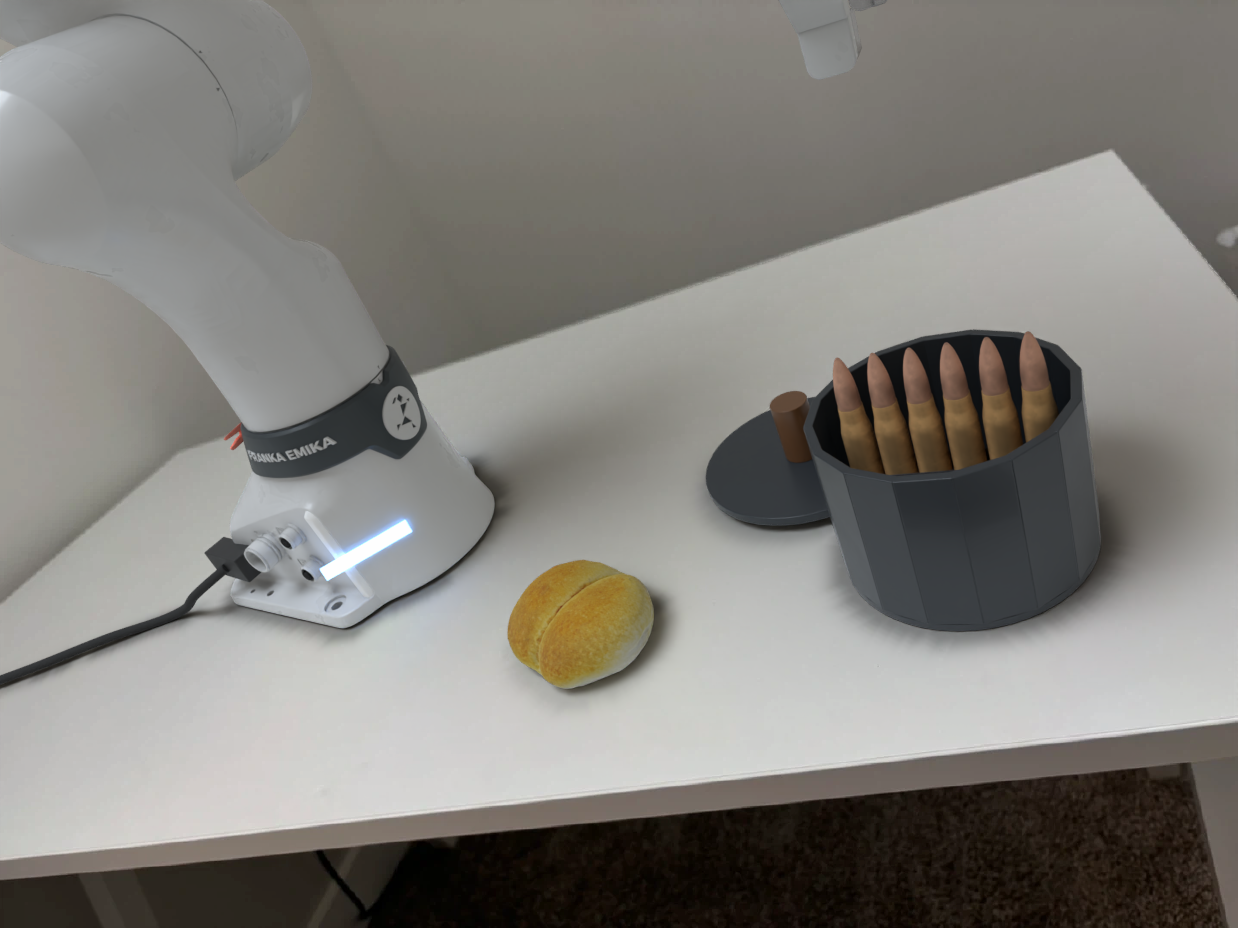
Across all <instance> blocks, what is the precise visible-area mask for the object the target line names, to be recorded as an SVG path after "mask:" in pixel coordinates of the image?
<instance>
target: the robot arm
mask: <svg viewBox="0 0 1238 928" xmlns="http://www.w3.org/2000/svg"><path fill="white" fill-rule="evenodd" d="M777 1H778V3H779V4H780V6H781V9H782V10H783V12H784V14H785V16H786V17H787V19H788V21H789V24H791V26H792V28H793V31H794V32H795V34H797V38H798V43H799V46H800V50H801V54H802V56H803V57H802V58H803V62H804V65H805V66H804V67H805V69H806V73H807V74H808V76H809V77H810V78H811V79H814V80H817V81H821V80H825V79H828V78H832V77H836V76H840V75H843V74H846V73H849V72H850V71H851V70H852V69H854V67H855V65H856V64H857V61H858V59H859V57H860V54H861V52H862V49H863V46H862V40H861V37H860V34H859V26H858V21H857V16H856V13H855V11H856V12H862V11H865V10H868V9H870V8H871V9H872V8H874V7H879V6H881V5H884V4H886V3H887V2H888V0H777ZM0 40H1V41H4V42H6V43H9V44H10V45H11V46H14V48H12V49H10V50H8V51H6V52H4V53H3V54H2V55H0V244H1V245H2V246H4V247H6V248H7V249H9V250H11V251H13V252H15V253H17V254H19V255H21V256H22V257H25V258H27V259H29V260H32V261H34V262H37V263H42V264H45V265H49V266H56V267H62V268H68V269H72V270H77V271H80V272H83V273H85V274H86V273H87V274H89V275H91V276H94V277H97V278H99V279H101V280H102V281H103V280H104V281H105V282H108V283H109V284H111V285H113V286H115V287H117V288H119V289H120V290H122V291H123V292H125V293H126V294H128V295H130V296H131V297H133V298H134V299H135V300H137V301H138V302H140V303H141V304H142V305H144V306H145V307H147V309H149V310H150V311H151V312H153V313H154V314H155V315H157V316H158V318H159V319H161V320H162V321H163V322H164V323H165V324H166V325H168V326H169V328H171V329H172V331H173V332H174V333H175V334H176V336H178V337H179V338H180V339H181V340H182V342H183V343H184V344H185V345H186V346H187V348H188V349H189V350H190V351H191V353H192V354H193V356H194V358H195V359H196V360H197V361H198V363H199V364H200V365H201V367H202V368H203V369H204V371H205V372H206V373H207V375H208V376H209V377H210V379H211V380H212V382H213V383H214V384H215V386H216V388H218V390H219V392H220V393H221V394H222V396H223V398H224V399H225V401H226V402H227V403H228V404H229V406H230V407H231V409H232V410H233V412H234V413H235V415H236V416H237V417H238V419H239V420H240V423H238V424H237V425H236V426H235V427H233V429H232V430H231V431H230V432H229V433H227V434H226V435H225V436H224V438H223V440H224V441H228V440H230V439H231V438H232V437H233V436H235V435H236V434H237V433H238V435H237V436H236V438H234V441H233V442H232V444H231V445H230V447H229V450H231V451H234V450H236V449H237V448H238V447H239V446H240V445H241V444H243V445H244V448H245V452H246V455H247V458H248V462H249V465H250V468H251V473H250V475H249V477H248V479H247V482H246V484H245V485H244V488H243V491H242V492H241V494H240V497H239V499H238V502H237V503H236V505H235V507H234V509H233V511H232V514H231V517H230V519H229V520H230V521H229V534H230V537H226V536H223V537H221V538H220V539H219V540H218V541H216V542H215V543H214V544H213V545H211V546H210V547H209V548H208V549H207V550H206V551H205V552H204V555H205V556H206V558H207V559H208V560H209V561H210V563H211V564H212V565H213V567H214V568H215V569H216V570H214V571H213V572H212V573H211V574H210V575H208V577H206V578H205V579H204V580H203V581H201V582H200V584H198V585H197V587H195V588H194V589H193V590H192V591H191V593H190V594H189V595H188V596H187V597H186V599H185V600H184V602H183V604H182V605H180V606H178V607H177V608H175V609H173V610H171V611H168V612H167V613H164V614H161V615H159V616H157V617H154V618H151V619H148V620H144V621H141V622H138V623H136V624H131V625H129V626H125V627H122V628H120V629H116V630H114V631H110V632H108V633H105V634H102V635H99V636H97V637H94V638H91V639H90V640H87V641H85V642H81V643H80V644H77V645H74V646H72V647H70V648H67V649H64V650H63V651H60V652H58V653H55V654H52V655H50V656H47V657H45V658H42V659H39V660H37V661H34V662H32V663H29V664H26V665H24V666H22V667H19V668H16V669H13V670H11V671H8V672H5V673H3V674H0V685H3V684H6V683H9V682H12V681H14V680H18V679H19V678H22V677H26V676H29V675H30V674H33V673H36V672H38V671H41V670H44V669H47V668H49V667H52V666H53V665H56V664H59V663H61V662H63V661H66V660H69V659H71V658H73V657H76V656H78V655H81V654H83V653H85V652H89V651H91V650H93V649H96V648H98V647H101V646H104V645H106V644H109V643H112V642H115V641H117V640H120V639H124V638H126V637H129V636H133V635H136V634H139V633H142V632H145V631H148V630H151V629H155V628H157V627H160V626H163V625H165V624H167V623H171V622H173V621H175V620H177V619H179V618H181V617H183V616H185V615H187V614H188V613H189V612H190V611H192V609H193V608H194V607H195V605H196V603H197V601H198V600H199V599H200V598H201V597H202V596H203V595H204V594H205V593H206V592H207V591H209V590H210V589H211V588H212V587H213V586H214V585H215V584H217V583H218V582H219V581H220V580H221V579H222V578H224V577H225V576H226V577H230V578H234V580H233V581H232V585H231V587H230V592H229V595H230V597H231V599H232V600H233V602H234V604H236V605H238V606H241V607H246V608H250V609H254V610H259V611H262V612H268V613H272V614H277V615H279V616H285V617H290V618H293V619H298V620H303V621H306V622H312V623H316V624H320V625H325V626H329V627H333V628H337V629H346V628H350V627H352V626H354V625H356V624H358V623H359V622H361V621H363V620H364V619H366V618H367V617H368V616H370V615H371V614H373V613H375V612H376V611H377V610H378V609H379V608H381V607H383V605H385V604H387V603H389V602H391V601H393V600H395V599H397V598H399V597H401V596H403V595H406V594H408V593H410V592H412V591H414V590H416V589H419V588H420V587H422V586H424V585H426V584H427V583H429V582H431V581H433V580H434V579H436V578H438V577H439V576H441V575H442V574H444V573H445V572H446V571H448V570H449V569H450V568H452V567H453V566H454V565H455V564H457V563H458V562H459V561H460V560H461V559H463V558H464V556H466V554H468V553H469V552H470V551H471V549H472V548H473V547H474V546H475V545H476V544H477V543H478V542H479V541H480V540H481V538H482V536H483V535H484V533H485V532H486V530H487V529H488V527H489V525H490V524H491V521H492V519H493V516H494V513H495V505H496V504H495V498H494V495H493V493H492V491H491V489H489V488H488V487H487V485H486V484H484V482H483V481H482V480H481V479H480V478H479V477H478V476H477V475H476V473H475V469H474V467H473V465H472V463H471V462H470V460H469V459H468V458H467V457H466V456H464V455H461V454H460V453H459V452H458V451H457V449H456V448H455V446H454V445H453V443H452V442H451V440H450V439H449V438H448V437H447V435H446V433H445V432H444V431H443V429H442V428H441V426H440V425H439V423H438V422H437V421H436V419H435V418H434V416H433V415H432V413H431V412H430V411H429V410H428V408H427V406H426V405H425V404H424V403H423V401H422V400H421V398H420V396H419V391H418V387H417V385H416V383H415V382H414V380H413V378H412V376H411V375H410V372H409V371H408V367H407V365H406V364H405V361H404V360H403V359H402V358H400V355H399V354H398V352H397V351H396V349H395V348H394V347H393V346H391V345H389V344H386V343H385V341H384V338H382V336H381V334H380V332H379V330H378V329H377V326H376V325H375V322H374V321H373V319H372V317H371V315H370V314H369V311H368V310H367V308H366V306H365V304H364V302H363V300H362V299H361V297H360V295H359V293H358V292H357V290H356V288H355V286H354V284H353V282H352V281H351V278H350V276H349V275H348V273H347V272H346V269H345V268H344V266H343V264H342V262H341V261H340V260H339V258H338V257H337V256H336V255H335V254H334V253H333V252H332V251H331V250H330V249H329V248H327V247H326V246H324V245H322V244H320V243H318V242H316V241H313V240H308V239H303V238H295V237H289V236H288V235H286V234H285V233H283V232H281V230H279V229H278V228H276V227H275V226H274V225H273V224H271V222H269V221H268V220H267V219H266V218H265V217H264V216H263V215H262V214H261V213H260V212H259V211H258V210H257V209H256V208H255V207H254V206H253V204H251V202H250V201H249V200H248V199H247V197H246V196H245V195H244V194H243V192H242V191H241V190H240V188H239V186H238V184H237V182H236V181H238V180H239V179H241V178H242V177H244V176H245V175H247V174H248V173H250V172H252V171H253V170H255V169H256V168H258V167H259V166H261V165H263V164H264V163H265V162H267V161H269V160H270V159H272V158H273V157H274V156H276V154H277V153H278V152H279V151H280V150H281V149H282V147H283V146H284V145H285V143H287V141H288V140H289V138H290V137H291V136H292V135H293V133H294V132H295V131H296V129H297V128H298V126H299V125H300V123H301V122H302V120H303V119H304V118H305V116H306V114H307V112H308V110H309V107H310V104H311V100H312V95H313V74H312V67H311V64H310V60H309V57H308V54H307V52H306V51H307V50H306V49H305V47H304V45H303V43H302V41H301V39H300V37H299V35H298V34H297V32H296V30H295V29H294V28H293V27H292V25H291V24H290V23H289V21H288V20H286V18H285V17H284V16H283V15H282V14H281V13H280V12H279V11H278V10H276V8H274V7H273V6H271V5H270V4H269V3H267V2H266V1H264V0H0Z"/></svg>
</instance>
